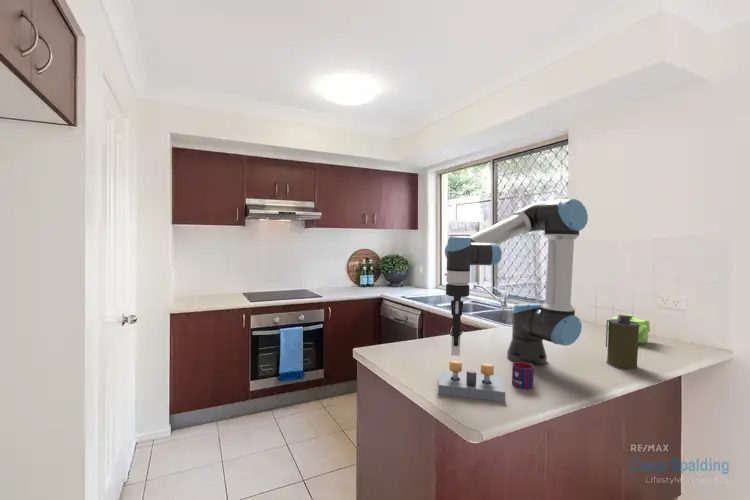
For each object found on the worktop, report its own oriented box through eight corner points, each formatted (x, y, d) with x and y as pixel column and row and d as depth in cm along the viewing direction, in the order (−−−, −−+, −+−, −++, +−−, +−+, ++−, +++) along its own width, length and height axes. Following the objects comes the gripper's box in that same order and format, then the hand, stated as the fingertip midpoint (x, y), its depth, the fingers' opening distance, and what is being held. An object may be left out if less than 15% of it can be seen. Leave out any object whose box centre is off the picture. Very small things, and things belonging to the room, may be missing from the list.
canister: (632, 362, 150) (634, 314, 149) (641, 371, 140) (644, 319, 139) (602, 359, 154) (604, 311, 153) (609, 367, 144) (611, 316, 143)
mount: (500, 385, 124) (500, 376, 124) (505, 401, 112) (505, 392, 112) (440, 378, 129) (440, 370, 129) (438, 394, 116) (438, 384, 116)
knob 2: (492, 379, 121) (493, 363, 120) (493, 384, 117) (494, 367, 116) (480, 378, 121) (480, 362, 121) (480, 383, 118) (481, 366, 117)
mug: (507, 383, 126) (508, 363, 126) (526, 378, 131) (526, 359, 131) (524, 390, 120) (525, 370, 120) (543, 384, 126) (544, 365, 125)
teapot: (665, 348, 171) (667, 320, 171) (622, 347, 172) (623, 319, 171) (637, 337, 190) (639, 312, 189) (598, 336, 190) (599, 311, 189)
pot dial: (475, 383, 118) (476, 370, 118) (476, 387, 115) (476, 374, 115) (466, 382, 119) (466, 369, 118) (466, 386, 116) (466, 373, 115)
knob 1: (461, 376, 123) (461, 360, 123) (461, 381, 119) (461, 364, 119) (449, 375, 124) (449, 359, 123) (448, 379, 120) (449, 363, 120)
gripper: (446, 280, 127) (444, 348, 128) (445, 285, 115) (442, 360, 116) (469, 281, 126) (466, 350, 127) (470, 286, 113) (467, 362, 114)
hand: (455, 354), depth 121 cm, fingers closed
